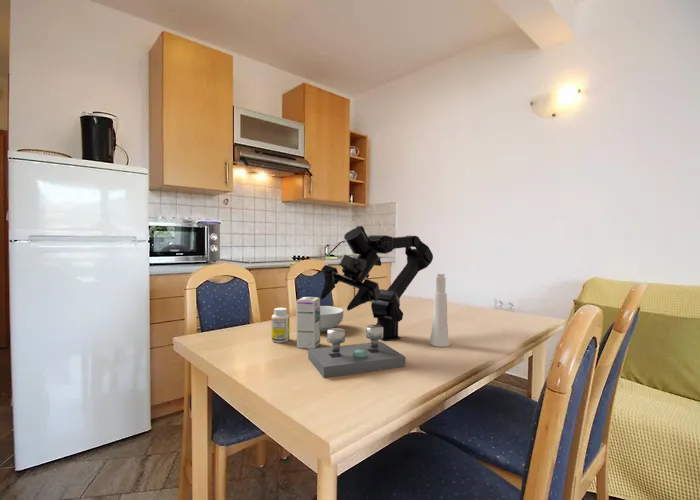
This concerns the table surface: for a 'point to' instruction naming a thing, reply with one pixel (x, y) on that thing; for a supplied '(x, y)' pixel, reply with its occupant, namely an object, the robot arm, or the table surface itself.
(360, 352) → the teal flat disc
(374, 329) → the knob
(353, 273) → the robot arm
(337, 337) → the knob
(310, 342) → the syrup box
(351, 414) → the table surface
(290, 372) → the table surface
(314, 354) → the panel
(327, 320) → the cereal bowl
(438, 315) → the cosmetic bottle
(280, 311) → the supplement bottle
